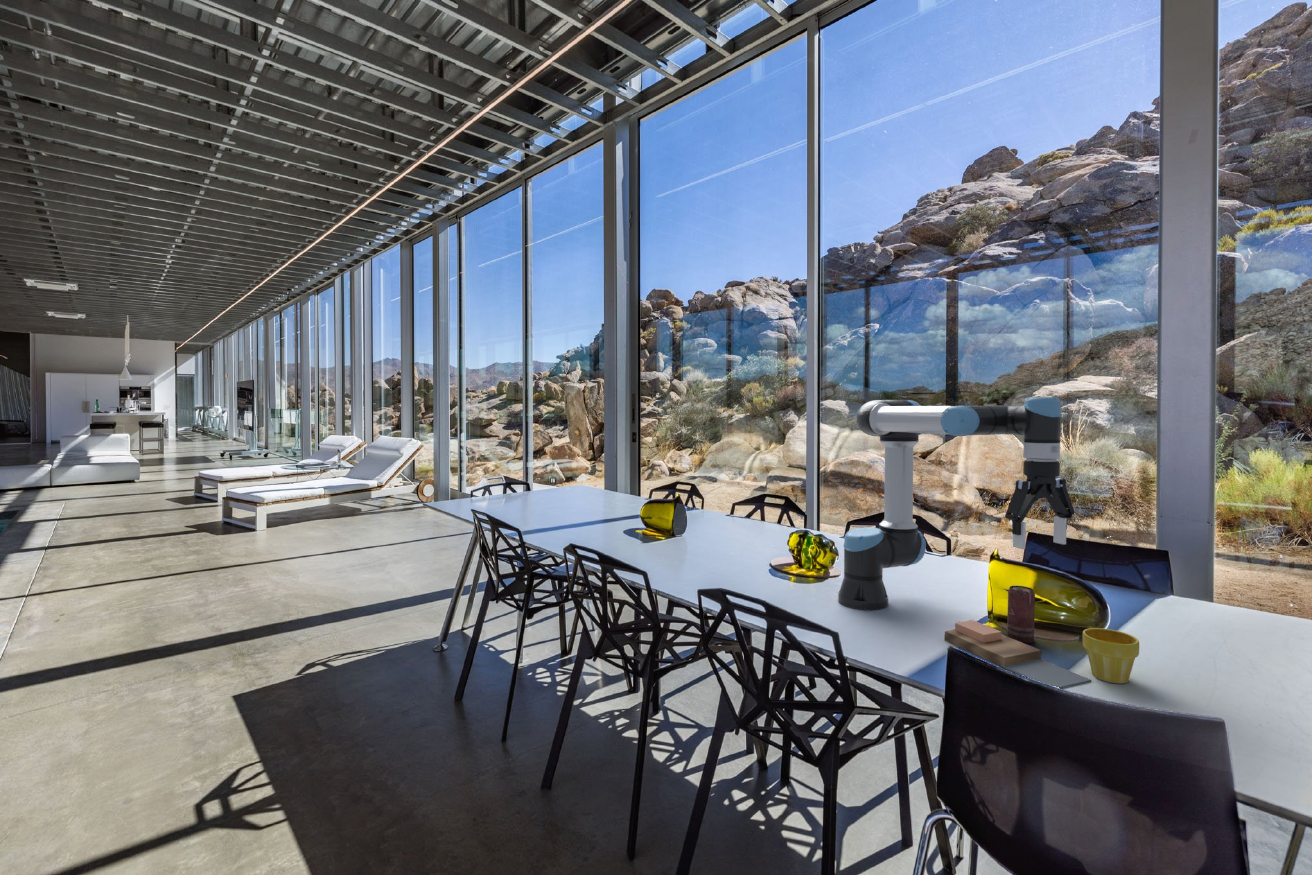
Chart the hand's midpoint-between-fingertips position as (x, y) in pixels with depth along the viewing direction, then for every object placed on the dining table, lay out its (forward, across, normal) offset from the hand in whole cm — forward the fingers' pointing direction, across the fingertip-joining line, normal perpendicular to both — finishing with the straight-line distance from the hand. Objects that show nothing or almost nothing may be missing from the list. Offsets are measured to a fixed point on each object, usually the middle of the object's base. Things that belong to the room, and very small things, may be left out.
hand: (1039, 545), depth 145 cm
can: (+28, +6, +9) cm, 30 cm away
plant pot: (+28, +5, -14) cm, 32 cm away
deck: (+28, -7, +7) cm, 30 cm away
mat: (+28, -7, -8) cm, 30 cm away
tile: (+25, -7, +11) cm, 29 cm away
